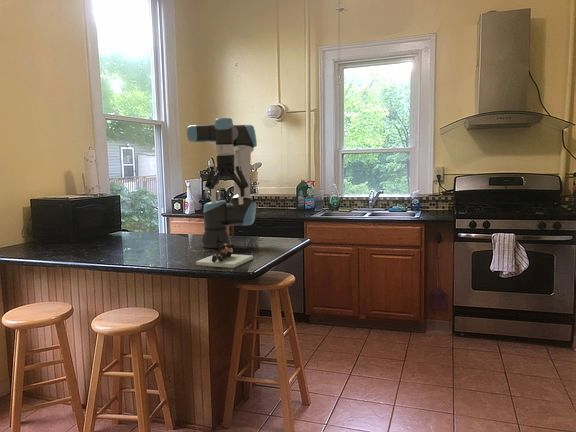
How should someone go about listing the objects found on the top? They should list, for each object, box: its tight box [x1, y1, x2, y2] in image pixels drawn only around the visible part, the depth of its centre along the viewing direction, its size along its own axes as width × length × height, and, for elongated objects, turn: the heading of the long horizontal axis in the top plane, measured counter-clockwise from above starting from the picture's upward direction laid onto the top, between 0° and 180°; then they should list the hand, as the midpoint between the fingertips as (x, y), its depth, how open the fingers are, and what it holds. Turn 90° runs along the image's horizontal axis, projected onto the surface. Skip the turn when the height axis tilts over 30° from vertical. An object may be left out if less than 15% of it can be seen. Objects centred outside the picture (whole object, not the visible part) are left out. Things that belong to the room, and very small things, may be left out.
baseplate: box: [195, 253, 254, 269], centre depth 197 cm, size 18×18×2 cm
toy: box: [212, 244, 234, 263], centre depth 195 cm, size 6×7×15 cm
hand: (227, 203), depth 198 cm, fingers open, 13 cm apart
